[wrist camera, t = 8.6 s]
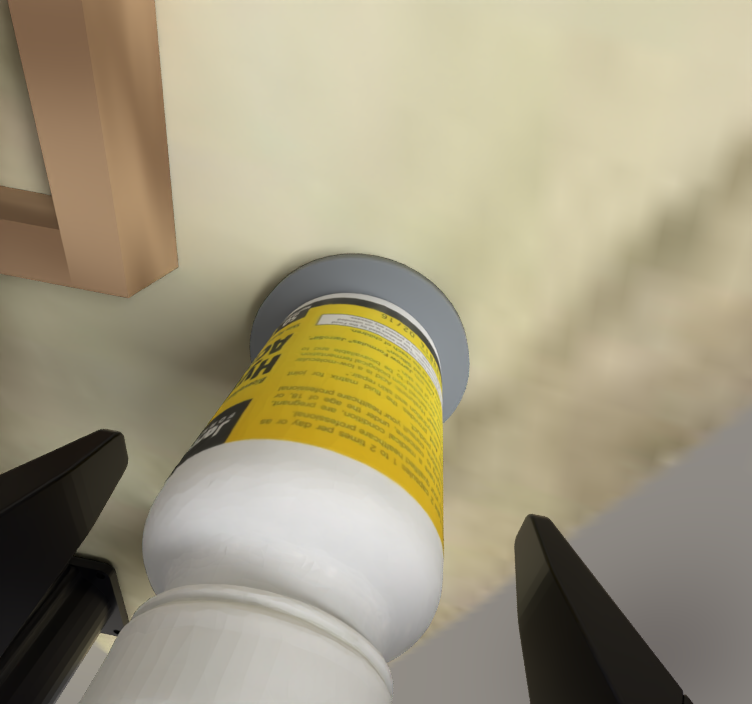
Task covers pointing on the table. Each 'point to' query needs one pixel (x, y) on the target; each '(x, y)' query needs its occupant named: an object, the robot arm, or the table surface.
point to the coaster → (382, 283)
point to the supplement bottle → (297, 524)
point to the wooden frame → (92, 149)
